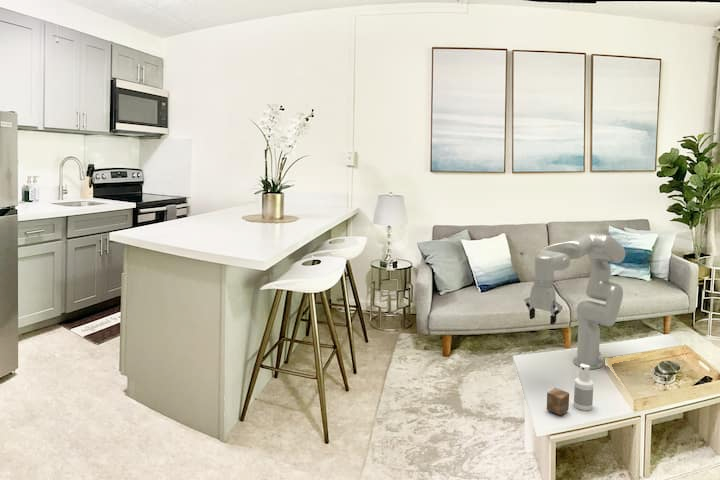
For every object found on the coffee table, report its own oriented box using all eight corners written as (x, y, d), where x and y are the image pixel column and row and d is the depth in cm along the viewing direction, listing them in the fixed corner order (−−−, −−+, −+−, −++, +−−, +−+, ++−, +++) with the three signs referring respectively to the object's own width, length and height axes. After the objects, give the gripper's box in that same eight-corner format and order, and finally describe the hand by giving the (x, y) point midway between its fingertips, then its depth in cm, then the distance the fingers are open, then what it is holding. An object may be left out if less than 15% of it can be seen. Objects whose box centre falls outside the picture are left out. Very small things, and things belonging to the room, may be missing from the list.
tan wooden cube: (546, 409, 190) (547, 392, 188) (554, 403, 193) (555, 387, 192) (561, 415, 185) (561, 398, 184) (568, 409, 189) (569, 392, 188)
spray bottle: (571, 406, 193) (572, 365, 189) (577, 400, 197) (579, 360, 194) (588, 412, 188) (590, 370, 185) (594, 406, 192) (596, 364, 189)
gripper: (520, 281, 207) (519, 318, 210) (558, 288, 194) (556, 328, 197) (530, 278, 212) (529, 314, 215) (567, 285, 198) (565, 323, 201)
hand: (542, 321), depth 206 cm, fingers open, 9 cm apart
